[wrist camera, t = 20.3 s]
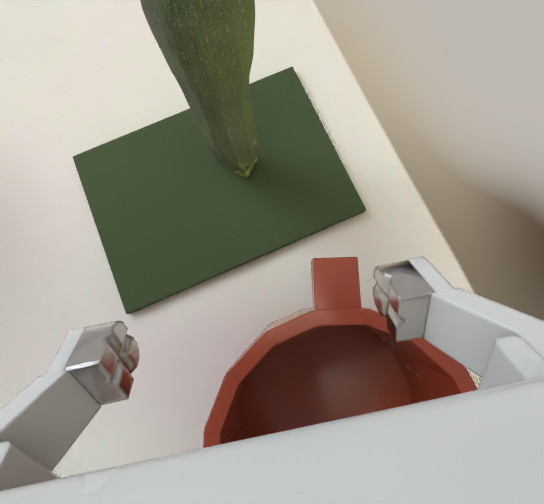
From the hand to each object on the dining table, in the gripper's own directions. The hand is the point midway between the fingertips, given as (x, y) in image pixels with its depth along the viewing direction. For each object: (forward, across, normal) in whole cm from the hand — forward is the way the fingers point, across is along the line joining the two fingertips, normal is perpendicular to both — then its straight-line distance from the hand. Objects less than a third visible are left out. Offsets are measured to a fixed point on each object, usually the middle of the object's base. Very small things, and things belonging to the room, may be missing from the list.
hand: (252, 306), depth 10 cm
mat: (+17, +2, +2) cm, 18 cm away
